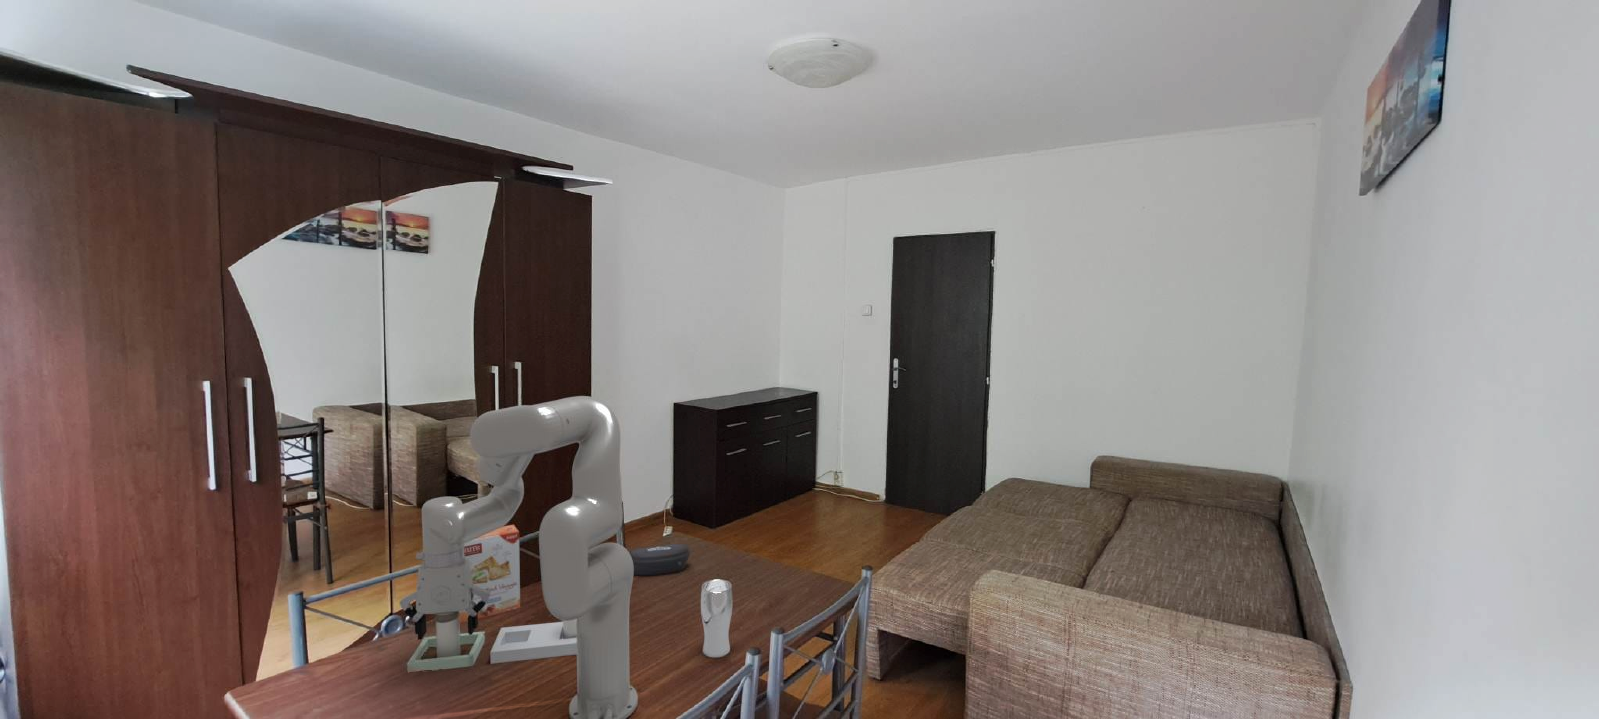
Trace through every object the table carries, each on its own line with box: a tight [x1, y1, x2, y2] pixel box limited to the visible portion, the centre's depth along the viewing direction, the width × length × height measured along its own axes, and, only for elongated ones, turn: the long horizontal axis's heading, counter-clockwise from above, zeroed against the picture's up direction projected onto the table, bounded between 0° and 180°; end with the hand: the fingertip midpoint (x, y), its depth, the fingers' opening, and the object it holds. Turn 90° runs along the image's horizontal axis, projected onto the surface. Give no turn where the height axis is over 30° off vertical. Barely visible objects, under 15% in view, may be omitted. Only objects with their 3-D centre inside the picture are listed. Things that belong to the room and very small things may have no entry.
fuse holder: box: [489, 621, 577, 665], centre depth 138 cm, size 10×20×4 cm, turn 104°
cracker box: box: [459, 524, 521, 624], centre depth 152 cm, size 14×6×21 cm, turn 126°
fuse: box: [562, 619, 577, 639], centre depth 139 cm, size 5×5×11 cm
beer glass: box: [700, 578, 733, 659], centre depth 139 cm, size 7×7×15 cm
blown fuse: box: [434, 612, 462, 658], centre depth 133 cm, size 5×5×11 cm
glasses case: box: [629, 543, 691, 576], centre depth 180 cm, size 18×10×8 cm, turn 109°
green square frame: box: [406, 631, 486, 671], centre depth 134 cm, size 10×12×3 cm
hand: (447, 633), depth 133 cm, fingers open, 9 cm apart
